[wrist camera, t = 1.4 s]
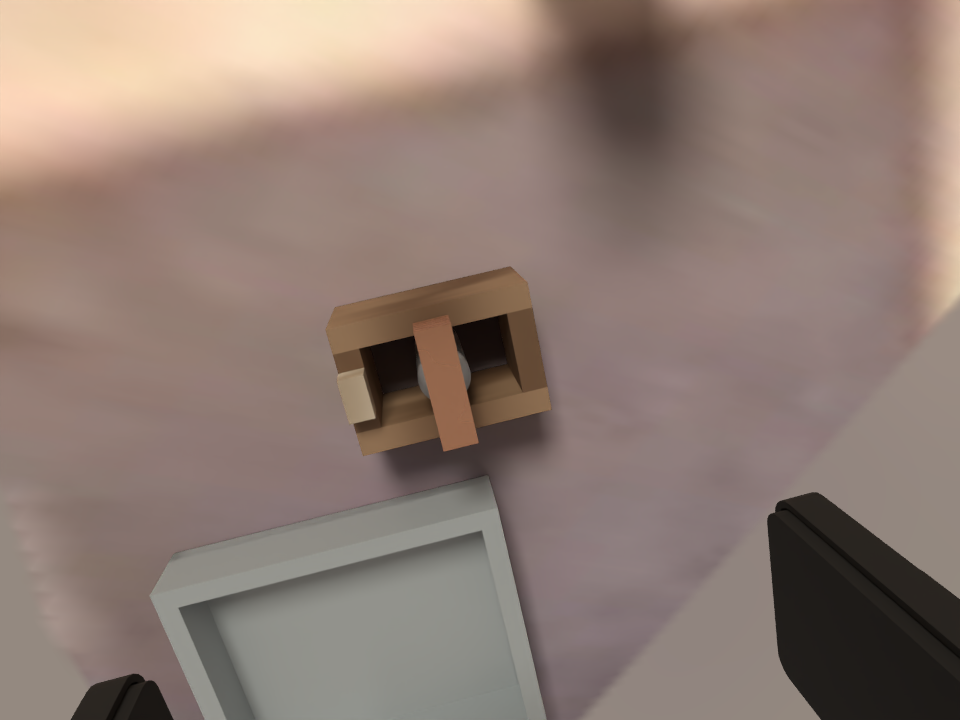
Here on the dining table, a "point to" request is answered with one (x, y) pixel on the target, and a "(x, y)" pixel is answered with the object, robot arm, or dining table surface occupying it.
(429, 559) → the tray
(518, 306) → the collar
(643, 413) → the dining table surface
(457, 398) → the brown grey t-shaped piece
